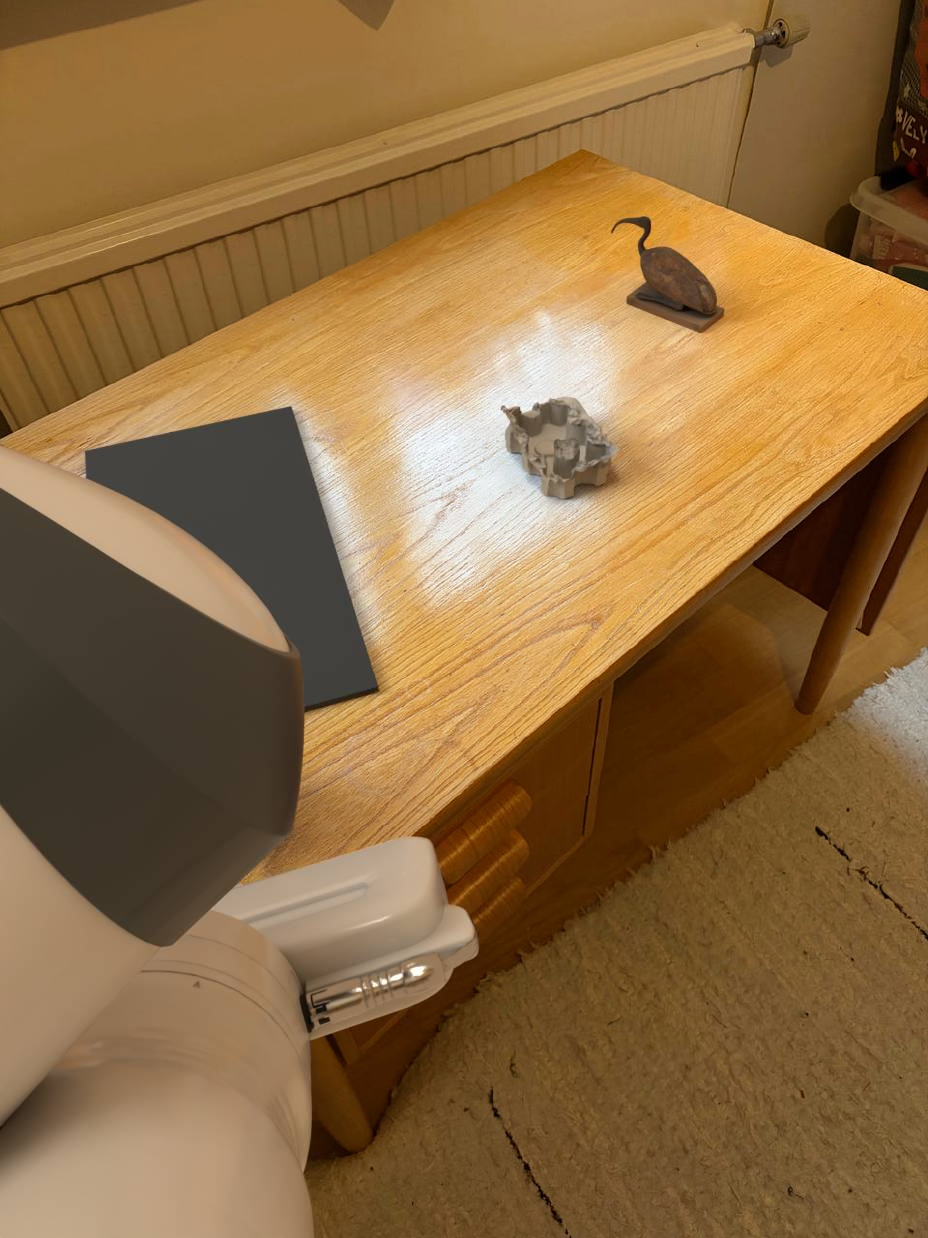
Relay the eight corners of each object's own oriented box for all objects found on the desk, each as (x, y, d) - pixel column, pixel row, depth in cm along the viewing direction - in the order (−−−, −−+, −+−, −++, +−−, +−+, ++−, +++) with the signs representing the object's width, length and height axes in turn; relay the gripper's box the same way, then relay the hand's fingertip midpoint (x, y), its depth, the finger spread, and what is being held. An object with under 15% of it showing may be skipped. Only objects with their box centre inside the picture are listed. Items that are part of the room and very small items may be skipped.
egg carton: (496, 438, 83) (495, 402, 80) (566, 417, 85) (568, 381, 82) (546, 507, 77) (547, 471, 74) (621, 482, 79) (626, 446, 75)
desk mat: (103, 767, 62) (100, 762, 61) (86, 455, 84) (84, 450, 83) (379, 691, 65) (378, 686, 64) (292, 410, 87) (291, 405, 87)
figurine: (594, 290, 99) (600, 214, 93) (617, 274, 101) (625, 198, 95) (701, 333, 93) (716, 255, 86) (724, 315, 95) (740, 237, 88)
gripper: (467, 866, 28) (412, 767, 41) (-238, 1088, 24) (-45, 900, 38) (514, 1050, 28) (444, 892, 42) (-166, 1290, 25) (-2, 1034, 38)
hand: (208, 897), depth 40 cm, fingers closed
